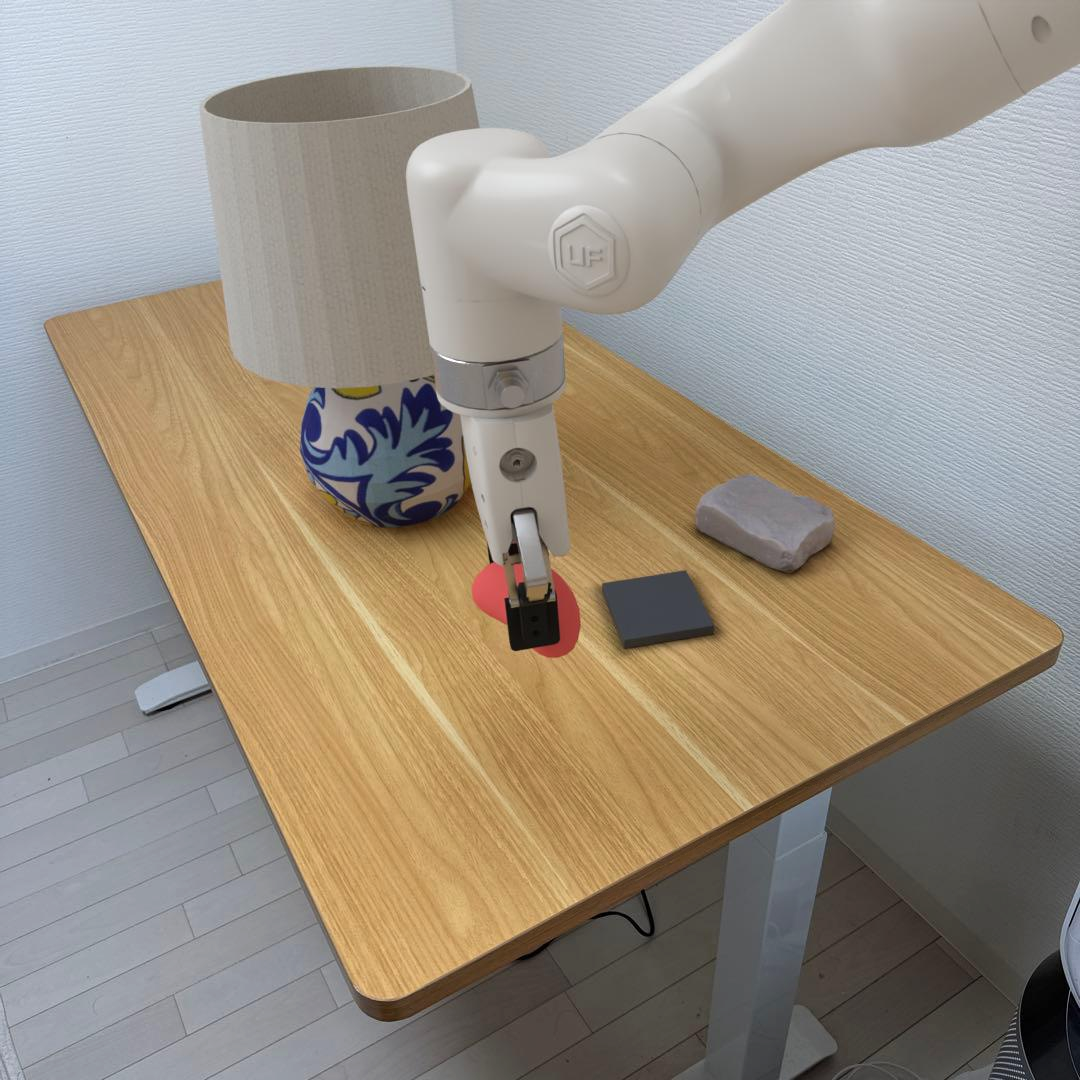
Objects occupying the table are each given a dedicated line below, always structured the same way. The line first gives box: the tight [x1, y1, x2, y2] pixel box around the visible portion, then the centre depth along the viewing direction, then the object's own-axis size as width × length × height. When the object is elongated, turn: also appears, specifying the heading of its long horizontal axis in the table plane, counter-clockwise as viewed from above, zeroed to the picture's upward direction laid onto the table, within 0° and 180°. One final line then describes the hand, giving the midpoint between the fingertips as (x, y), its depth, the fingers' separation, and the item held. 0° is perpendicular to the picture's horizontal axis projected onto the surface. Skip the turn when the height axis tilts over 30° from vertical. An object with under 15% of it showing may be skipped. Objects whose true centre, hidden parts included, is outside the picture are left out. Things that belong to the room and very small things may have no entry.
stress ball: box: [471, 562, 582, 659], centre depth 65 cm, size 5×9×6 cm
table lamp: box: [198, 64, 481, 529], centre depth 92 cm, size 27×27×40 cm
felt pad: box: [601, 570, 715, 649], centre depth 85 cm, size 8×8×1 cm
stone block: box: [694, 473, 836, 574], centre depth 94 cm, size 12×5×10 cm
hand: (522, 600), depth 65 cm, fingers closed on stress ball, 8 cm apart
